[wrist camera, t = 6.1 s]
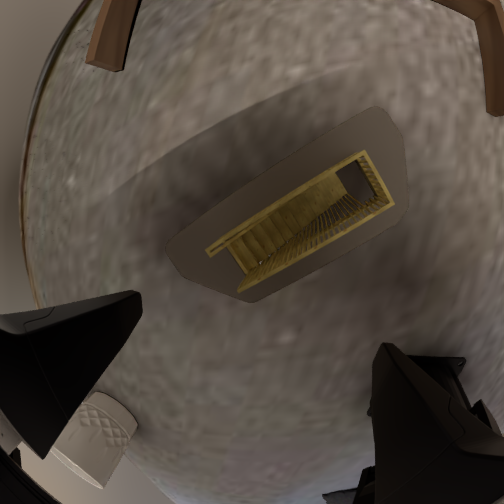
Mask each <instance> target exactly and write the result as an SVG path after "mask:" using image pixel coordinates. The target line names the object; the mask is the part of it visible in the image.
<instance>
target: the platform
mask: <svg viewBox="0 0 504 504" xmlns="http://www.w3.org/2000/svg"><path fill="white" fill-rule="evenodd" d="M354 160H355V162H356V164H357V165H358V167H359V169H360V170H361V172H362V174H363V175H364V177H365V179H366V181H367V182H368V184H369V186H370V188H371V189H372V191H373V193H374V196H373V197H374V200H373V199H371V198H369V200H370V202H367V201H366V200H365V203H366V204H365V205H363V204H362V203H360V202H359V201H358V200H356V199H355V198H354V197H352V196H351V195H349V194H348V193H347V191H346V189H345V188H344V186H343V184H342V183H341V181H340V179H339V178H338V176H337V174H336V173H335V172H336V171H337V170H339V169H341V168H342V167H344V166H346V165H347V164H349V163H351V162H352V161H354ZM346 194H347V195H348V196H349V197H350V198H351V199H353V200H354V201H355V202H357V203H358V204H359V205H360V206H361V207H360V208H359V207H358V206H357V205H356V204H354V203H353V202H352V201H351V200H350V199H349V198H347V197H346V196H345V195H346ZM343 196H344V197H345V198H346V199H347V200H348V201H349V202H350V203H351V204H352V205H353V206H355V207H356V208H357V210H354V209H353V208H352V207H351V206H350V205H349V204H348V203H347V202H346V201H345V200H344V199H343V198H342V197H343ZM340 199H342V200H343V201H344V202H345V203H346V205H347V206H348V207H349V208H350V209H351V210H352V211H353V212H352V213H350V212H349V211H348V210H347V208H346V207H345V206H344V205H343V204H342V203H341V201H340ZM336 201H339V202H340V204H341V205H342V206H343V208H344V209H345V210H346V211H347V213H348V214H349V215H347V216H346V215H345V214H344V213H343V211H342V210H341V208H340V207H339V205H338V204H337V202H336ZM335 203H336V205H337V206H338V208H339V209H340V211H341V212H342V214H343V215H344V218H342V219H341V217H340V215H339V214H338V212H337V210H336V208H335V207H334V205H333V204H335ZM332 205H333V207H334V209H335V211H336V213H337V215H338V217H339V219H340V220H338V221H337V220H336V218H335V216H334V214H333V211H332V209H331V208H330V206H332ZM408 207H409V194H408V180H407V169H406V159H405V151H404V144H403V138H402V135H401V134H400V132H399V130H398V129H397V127H396V125H395V124H394V122H393V121H392V119H391V117H390V116H389V114H388V113H387V112H386V111H385V110H384V109H382V108H380V107H370V108H368V109H367V110H365V111H363V112H361V113H359V114H358V115H356V116H354V117H352V118H351V119H349V120H347V121H345V122H344V123H342V124H340V125H338V126H337V127H335V128H333V129H332V130H330V131H328V132H327V133H325V134H323V135H322V136H320V137H318V138H317V139H315V140H313V141H312V142H310V143H309V144H307V145H305V146H304V147H302V148H300V149H299V150H297V151H296V152H294V153H293V154H291V155H289V156H288V157H286V158H285V159H283V160H282V161H280V162H278V163H277V164H275V165H274V166H272V167H271V168H269V169H268V170H266V171H265V172H263V173H262V174H260V175H259V176H257V177H256V178H254V179H253V180H251V181H250V182H248V183H247V184H245V185H244V186H243V187H241V188H240V189H238V190H237V191H235V192H234V193H232V194H231V195H230V196H228V197H227V198H225V199H224V200H222V201H221V202H220V203H218V204H217V205H215V206H214V207H213V208H211V209H210V210H208V211H207V212H206V213H204V214H203V215H202V216H200V217H199V218H197V219H196V220H195V221H193V222H192V223H191V224H189V225H188V226H187V227H185V228H184V229H183V230H181V231H180V232H179V233H177V234H176V235H175V236H173V237H172V238H171V239H170V240H168V242H167V243H166V247H165V250H166V253H167V255H168V257H169V259H170V260H171V261H172V263H173V264H174V266H175V267H176V269H177V270H178V272H179V273H180V274H181V275H182V276H183V277H184V278H186V279H189V280H191V281H193V282H196V283H198V284H201V285H203V286H206V287H208V288H211V289H213V290H216V291H218V292H221V293H224V294H226V295H229V296H231V297H234V298H237V299H239V300H242V301H244V302H247V303H254V302H257V301H259V300H261V299H263V298H265V297H266V296H268V295H270V294H272V293H274V292H276V291H278V290H280V289H282V288H284V287H286V286H288V285H290V284H291V283H293V282H295V281H297V280H299V279H301V278H303V277H305V276H306V275H308V274H310V273H312V272H314V271H316V270H317V269H319V268H321V267H323V266H325V265H327V264H328V263H330V262H332V261H334V260H336V259H337V258H339V257H341V256H343V255H344V254H346V253H348V252H350V251H351V250H353V249H355V248H357V247H358V246H360V245H362V244H364V243H365V242H367V241H369V240H370V239H372V238H374V237H376V236H377V235H379V234H381V233H382V232H384V231H386V230H387V229H389V228H391V227H392V226H394V225H396V224H397V223H398V222H399V221H400V219H401V218H402V217H403V216H404V215H405V213H406V212H407V210H408ZM329 208H330V211H331V213H332V215H333V218H334V220H335V223H332V221H331V218H330V215H329V212H328V210H327V209H329ZM325 210H326V212H327V215H328V218H329V221H330V224H331V225H330V226H328V223H327V220H326V216H325V213H324V211H325ZM321 214H323V216H324V220H325V225H326V228H325V229H324V226H323V221H322V216H321ZM318 216H320V223H321V231H320V230H319V221H318V218H317V217H318ZM315 219H316V226H317V233H316V234H315V221H314V220H315ZM310 222H312V236H311V224H310ZM307 225H309V229H308V227H307ZM304 227H305V232H304V231H303V229H302V228H304ZM307 229H308V239H307ZM300 231H301V234H300V233H299V232H300ZM238 232H239V233H238ZM236 233H237V234H236ZM303 233H304V239H303ZM235 234H236V235H235ZM295 234H297V237H295V236H294V235H295ZM233 235H234V236H233ZM232 236H233V237H232ZM230 237H231V238H230ZM299 237H300V240H299ZM242 238H243V239H242ZM291 238H293V239H291ZM287 240H289V242H288V244H287V243H286V241H287ZM295 240H296V241H295ZM302 240H303V242H302ZM244 241H245V242H244ZM291 242H292V243H291ZM298 242H299V244H298ZM246 244H247V245H246ZM294 244H295V245H294ZM283 245H284V246H283ZM280 246H281V247H280ZM248 247H249V248H248ZM278 247H280V249H279V250H278V249H277V248H278ZM275 251H276V252H275ZM271 253H272V254H271ZM270 254H271V256H270V257H269V256H268V255H270ZM265 259H266V260H265ZM262 260H263V261H262ZM261 261H262V263H261V264H259V262H261ZM256 266H257V267H256ZM252 268H253V269H252Z"/></svg>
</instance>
